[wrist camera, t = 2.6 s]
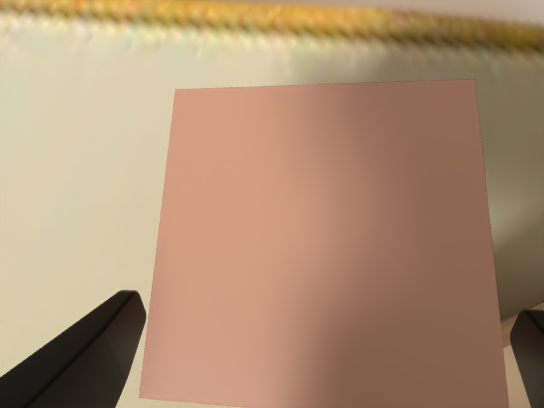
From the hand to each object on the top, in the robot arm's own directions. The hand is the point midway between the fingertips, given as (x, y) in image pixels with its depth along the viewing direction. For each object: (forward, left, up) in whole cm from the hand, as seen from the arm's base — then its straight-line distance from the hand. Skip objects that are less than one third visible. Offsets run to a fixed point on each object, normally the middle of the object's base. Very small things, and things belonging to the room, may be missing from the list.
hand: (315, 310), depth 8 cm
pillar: (+1, -1, -9) cm, 9 cm away
